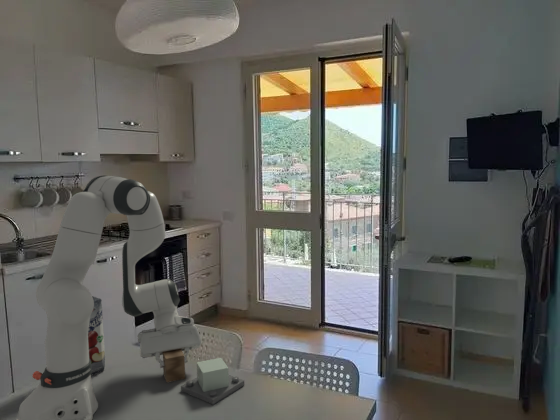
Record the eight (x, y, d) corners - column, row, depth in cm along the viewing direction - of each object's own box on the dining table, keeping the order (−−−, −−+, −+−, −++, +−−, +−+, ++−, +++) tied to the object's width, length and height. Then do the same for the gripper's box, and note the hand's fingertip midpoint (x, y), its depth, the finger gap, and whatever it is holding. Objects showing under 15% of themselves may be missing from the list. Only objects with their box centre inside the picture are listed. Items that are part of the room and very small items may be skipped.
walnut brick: (166, 382, 143) (165, 358, 142) (163, 374, 148) (162, 351, 147) (185, 378, 145) (184, 355, 144) (181, 371, 151) (180, 348, 150)
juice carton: (66, 374, 149) (60, 297, 147) (95, 363, 157) (91, 289, 155) (78, 382, 144) (73, 302, 141) (108, 370, 152) (104, 294, 149)
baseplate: (213, 404, 129) (212, 380, 128) (180, 390, 137) (180, 367, 137) (244, 384, 140) (243, 362, 140) (212, 373, 149) (212, 351, 148)
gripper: (137, 327, 147) (142, 367, 139) (197, 317, 155) (205, 355, 147) (136, 335, 152) (141, 374, 144) (195, 325, 160) (202, 362, 152)
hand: (174, 364), depth 146 cm, fingers closed on walnut brick, 6 cm apart
